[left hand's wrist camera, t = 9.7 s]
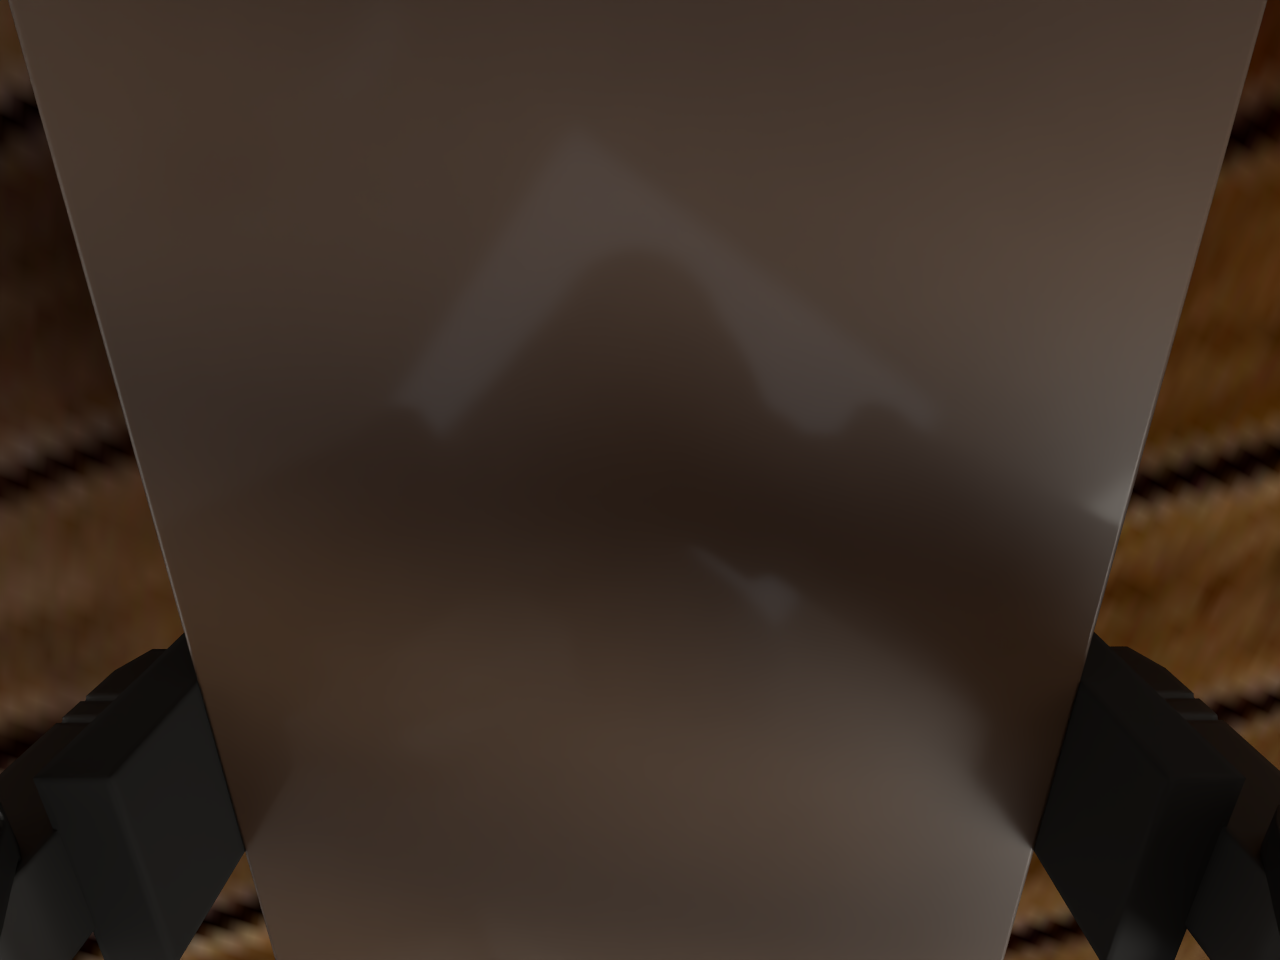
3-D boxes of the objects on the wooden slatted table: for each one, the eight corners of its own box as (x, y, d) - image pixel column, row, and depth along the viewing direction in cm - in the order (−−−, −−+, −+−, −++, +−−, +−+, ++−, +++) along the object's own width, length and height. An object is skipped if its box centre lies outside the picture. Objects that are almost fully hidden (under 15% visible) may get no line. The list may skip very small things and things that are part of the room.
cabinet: (386, -128, 15) (-261, -944, 4) (889, -128, 15) (1531, -942, 4) (464, 603, 21) (289, 1020, 11) (813, 603, 21) (989, 1018, 11)
